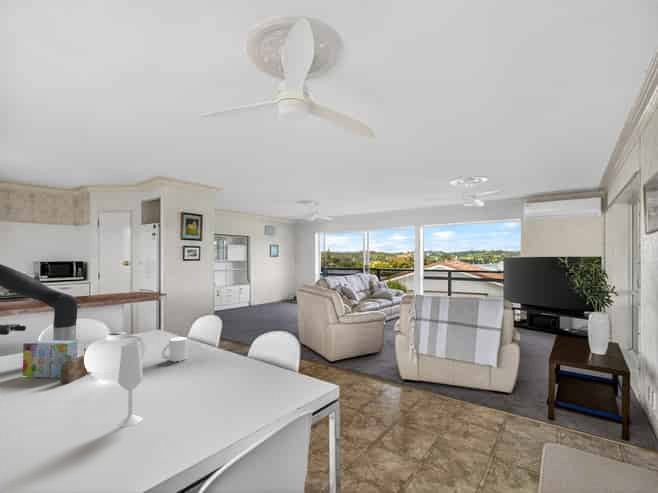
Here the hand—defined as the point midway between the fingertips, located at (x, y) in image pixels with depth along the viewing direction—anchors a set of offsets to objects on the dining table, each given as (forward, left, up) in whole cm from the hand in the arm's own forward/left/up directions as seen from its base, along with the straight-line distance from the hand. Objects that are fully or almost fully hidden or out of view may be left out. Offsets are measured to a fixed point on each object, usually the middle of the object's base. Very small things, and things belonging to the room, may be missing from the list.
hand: (16, 330), depth 150 cm
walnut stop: (+1, +29, -20) cm, 35 cm away
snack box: (-1, +14, -21) cm, 25 cm away
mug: (-23, +59, -21) cm, 67 cm away
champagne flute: (+41, +76, -21) cm, 89 cm away
